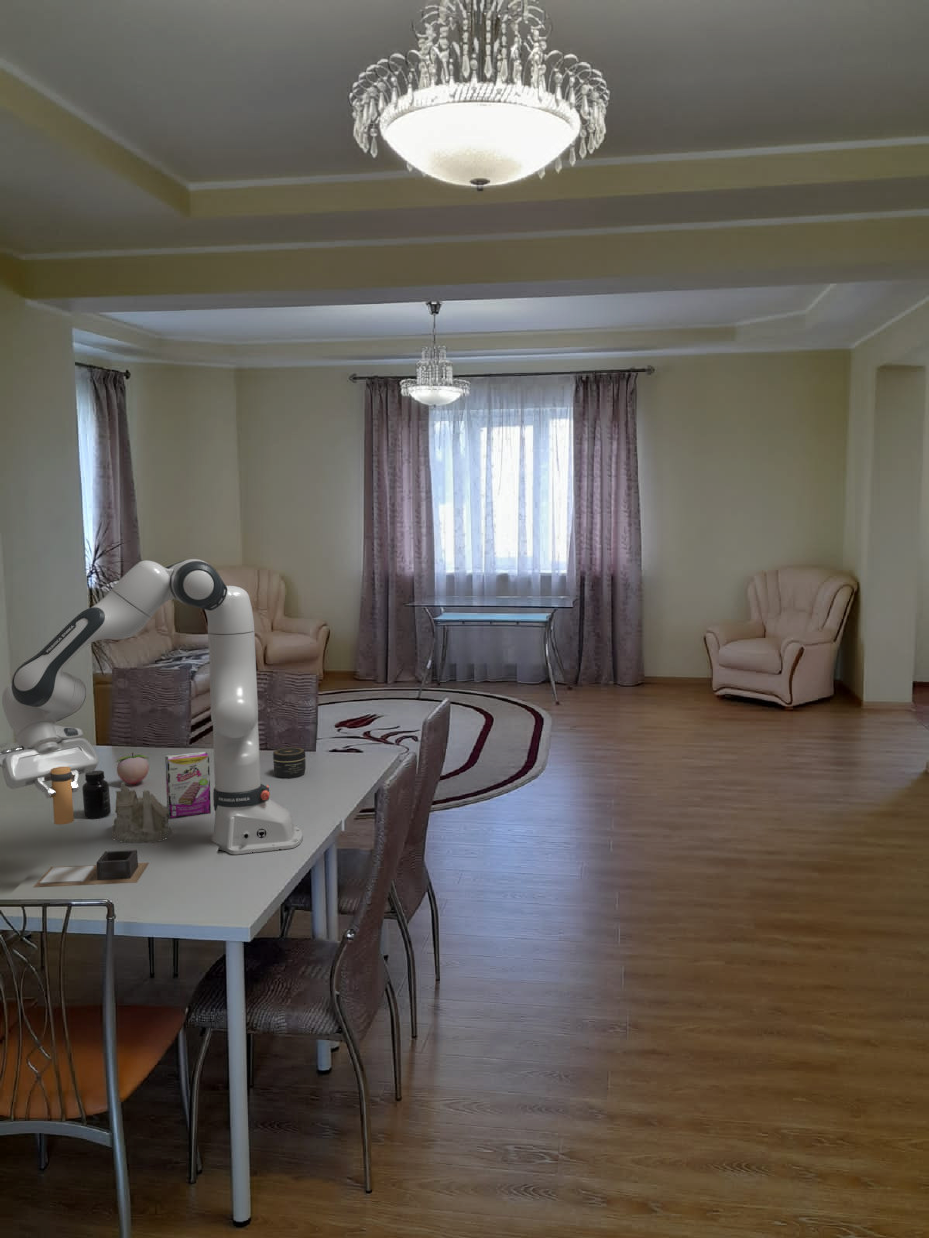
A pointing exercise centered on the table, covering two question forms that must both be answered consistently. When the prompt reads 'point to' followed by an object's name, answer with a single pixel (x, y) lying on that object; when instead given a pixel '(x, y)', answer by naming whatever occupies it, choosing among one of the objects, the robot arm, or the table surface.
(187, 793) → the candy bar box
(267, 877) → the table surface
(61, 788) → the orange cylindrical peg
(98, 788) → the supplement bottle
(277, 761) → the jar
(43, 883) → the board with square socket
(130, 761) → the decorative fruit
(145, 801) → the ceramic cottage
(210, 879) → the table surface
